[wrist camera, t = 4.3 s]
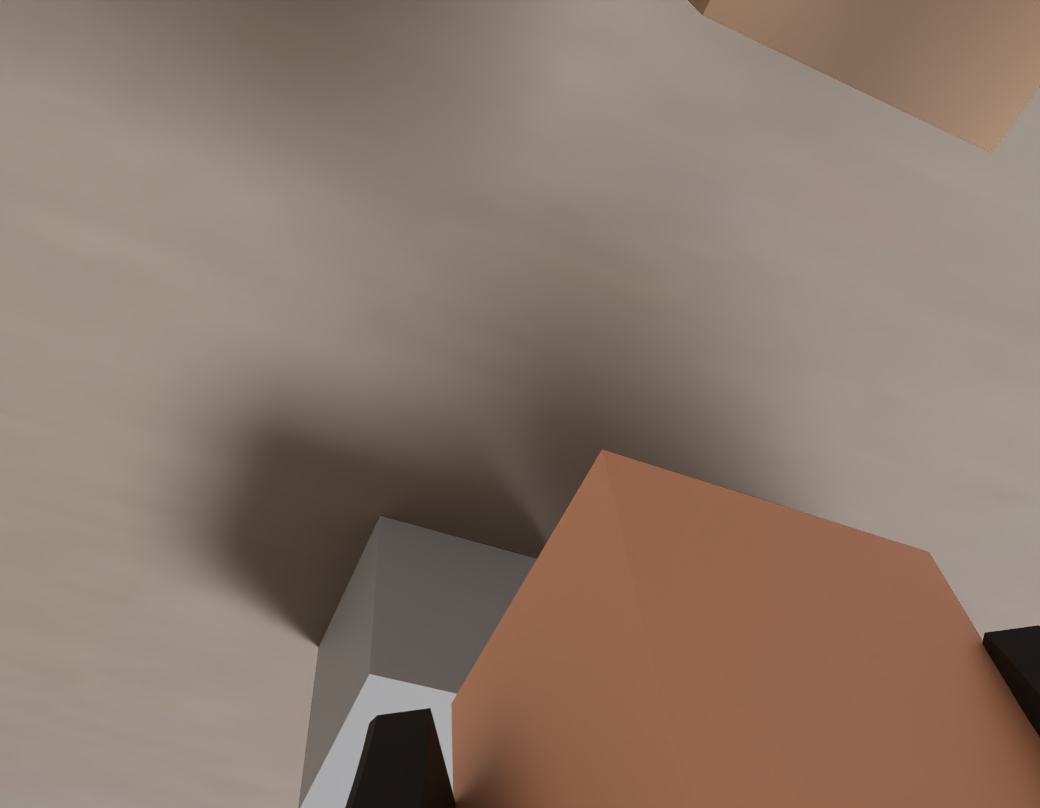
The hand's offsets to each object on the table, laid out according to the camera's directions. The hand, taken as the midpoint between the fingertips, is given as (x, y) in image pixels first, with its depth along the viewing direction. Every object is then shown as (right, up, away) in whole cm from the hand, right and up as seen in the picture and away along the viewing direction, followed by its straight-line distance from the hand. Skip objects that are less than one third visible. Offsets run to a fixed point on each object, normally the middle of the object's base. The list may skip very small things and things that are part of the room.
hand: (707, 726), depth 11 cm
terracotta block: (0, +1, +1) cm, 2 cm away
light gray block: (-4, -1, +12) cm, 13 cm away
